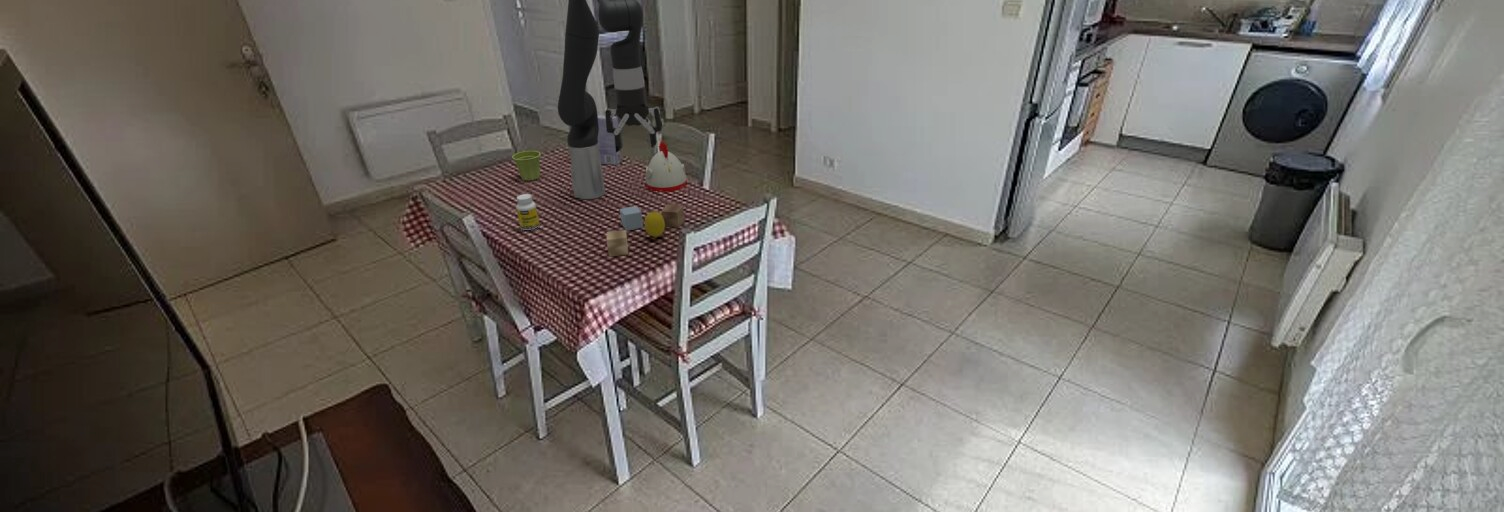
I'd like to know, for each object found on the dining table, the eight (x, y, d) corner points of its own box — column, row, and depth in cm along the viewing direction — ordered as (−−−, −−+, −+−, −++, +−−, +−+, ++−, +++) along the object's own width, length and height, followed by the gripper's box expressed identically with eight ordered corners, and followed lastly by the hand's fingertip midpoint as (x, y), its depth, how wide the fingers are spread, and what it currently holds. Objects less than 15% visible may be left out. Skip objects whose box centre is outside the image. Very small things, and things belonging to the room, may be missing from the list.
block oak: (608, 256, 158) (606, 239, 156) (609, 248, 162) (607, 231, 160) (628, 254, 159) (625, 238, 157) (628, 246, 163) (626, 230, 161)
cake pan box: (625, 161, 226) (619, 115, 218) (620, 165, 222) (614, 118, 213) (578, 158, 229) (570, 113, 221) (572, 163, 225) (564, 116, 217)
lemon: (667, 233, 170) (665, 207, 166) (663, 242, 165) (660, 215, 161) (648, 232, 170) (646, 207, 167) (643, 241, 166) (640, 215, 162)
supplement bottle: (522, 233, 172) (515, 201, 167) (519, 225, 176) (512, 195, 171) (541, 229, 174) (535, 197, 169) (538, 222, 178) (532, 191, 173)
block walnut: (662, 226, 174) (661, 211, 172) (668, 219, 178) (667, 204, 176) (678, 228, 173) (677, 212, 171) (684, 221, 177) (683, 205, 175)
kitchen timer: (652, 194, 196) (647, 150, 189) (641, 181, 207) (637, 139, 200) (692, 188, 201) (689, 144, 194) (679, 175, 212) (676, 133, 205)
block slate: (626, 231, 172) (624, 215, 170) (621, 224, 176) (619, 209, 174) (643, 227, 174) (641, 211, 171) (638, 221, 178) (636, 205, 175)
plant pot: (540, 183, 207) (535, 159, 203) (513, 183, 207) (507, 159, 203) (548, 173, 215) (544, 150, 211) (522, 174, 215) (517, 150, 211)
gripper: (598, 89, 147) (607, 152, 155) (655, 87, 147) (662, 150, 155) (604, 83, 154) (612, 144, 161) (659, 81, 154) (665, 142, 162)
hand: (637, 147), depth 158 cm, fingers open, 8 cm apart
